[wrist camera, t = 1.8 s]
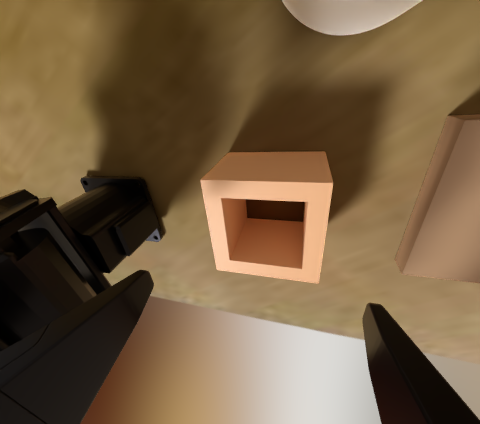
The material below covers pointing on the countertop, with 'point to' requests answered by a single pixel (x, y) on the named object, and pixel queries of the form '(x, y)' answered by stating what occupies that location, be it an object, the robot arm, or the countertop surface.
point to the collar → (263, 230)
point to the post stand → (447, 209)
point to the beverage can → (347, 14)
